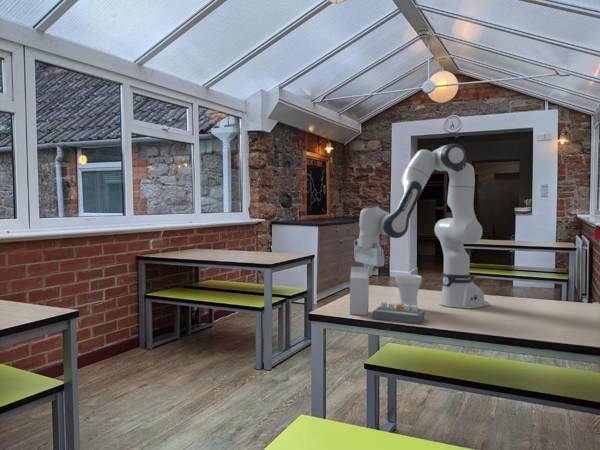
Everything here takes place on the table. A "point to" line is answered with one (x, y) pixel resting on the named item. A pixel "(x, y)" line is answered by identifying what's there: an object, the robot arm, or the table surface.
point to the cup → (408, 288)
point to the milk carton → (359, 290)
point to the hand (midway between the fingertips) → (368, 274)
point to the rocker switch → (399, 307)
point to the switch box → (399, 314)
